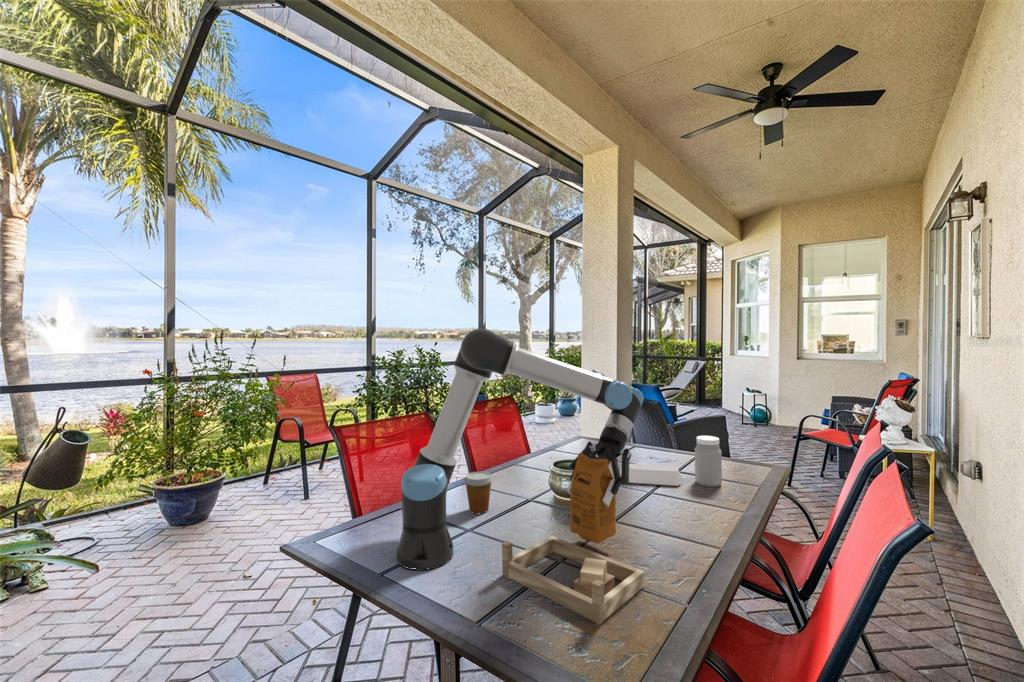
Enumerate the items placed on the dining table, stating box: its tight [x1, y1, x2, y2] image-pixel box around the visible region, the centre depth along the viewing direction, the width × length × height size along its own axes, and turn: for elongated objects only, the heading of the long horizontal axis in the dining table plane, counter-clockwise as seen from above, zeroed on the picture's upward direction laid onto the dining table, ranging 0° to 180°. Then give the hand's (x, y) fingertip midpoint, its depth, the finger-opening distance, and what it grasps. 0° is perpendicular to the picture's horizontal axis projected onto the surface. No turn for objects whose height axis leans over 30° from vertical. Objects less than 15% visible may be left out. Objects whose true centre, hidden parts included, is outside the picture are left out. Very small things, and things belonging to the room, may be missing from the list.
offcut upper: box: [579, 558, 607, 587], centre depth 105 cm, size 7×5×3 cm
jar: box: [694, 435, 723, 488], centre depth 177 cm, size 10×10×18 cm
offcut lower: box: [573, 573, 616, 598], centre depth 105 cm, size 8×6×3 cm
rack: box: [501, 535, 646, 625], centre depth 109 cm, size 19×28×8 cm
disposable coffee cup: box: [464, 471, 493, 514], centre depth 154 cm, size 10×10×12 cm
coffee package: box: [569, 452, 617, 544], centre depth 127 cm, size 10×12×22 cm
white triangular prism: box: [619, 463, 683, 487], centre depth 181 cm, size 7×7×24 cm
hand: (586, 498), depth 125 cm, fingers closed on coffee package, 11 cm apart
